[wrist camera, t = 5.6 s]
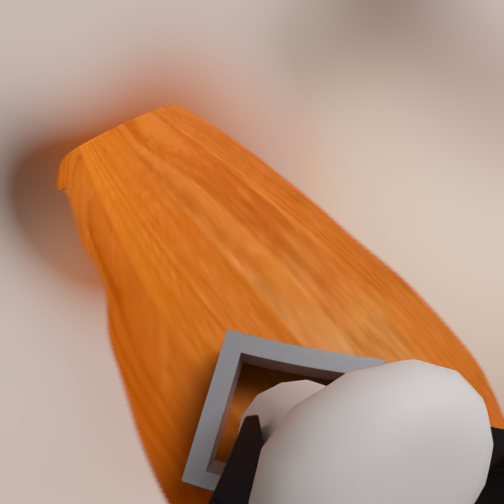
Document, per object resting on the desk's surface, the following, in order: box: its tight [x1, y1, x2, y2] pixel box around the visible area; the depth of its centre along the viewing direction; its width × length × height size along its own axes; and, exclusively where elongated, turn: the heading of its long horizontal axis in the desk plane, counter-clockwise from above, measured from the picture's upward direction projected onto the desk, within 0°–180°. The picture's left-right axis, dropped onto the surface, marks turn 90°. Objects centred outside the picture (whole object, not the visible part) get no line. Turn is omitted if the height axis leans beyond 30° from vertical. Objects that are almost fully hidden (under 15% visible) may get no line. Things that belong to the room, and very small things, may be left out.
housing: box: [181, 330, 385, 491], centre depth 15 cm, size 10×10×4 cm
